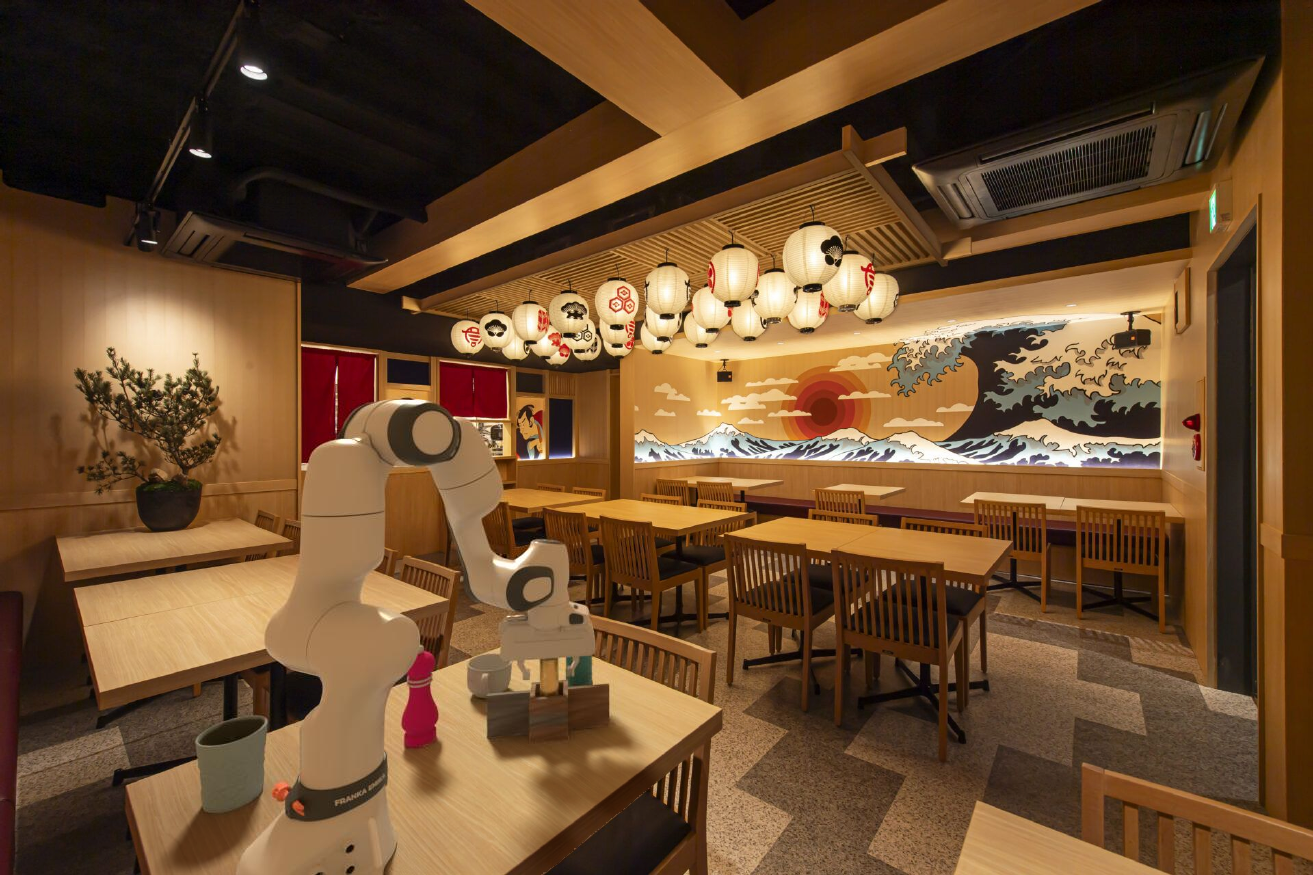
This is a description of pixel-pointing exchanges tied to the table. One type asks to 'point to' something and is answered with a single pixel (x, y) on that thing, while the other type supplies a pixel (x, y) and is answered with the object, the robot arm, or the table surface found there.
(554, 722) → the brown winged open box
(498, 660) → the teacup
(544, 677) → the brass pin
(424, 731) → the pepper mill
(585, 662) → the beverage bottle
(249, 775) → the green oval vase
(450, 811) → the table surface
